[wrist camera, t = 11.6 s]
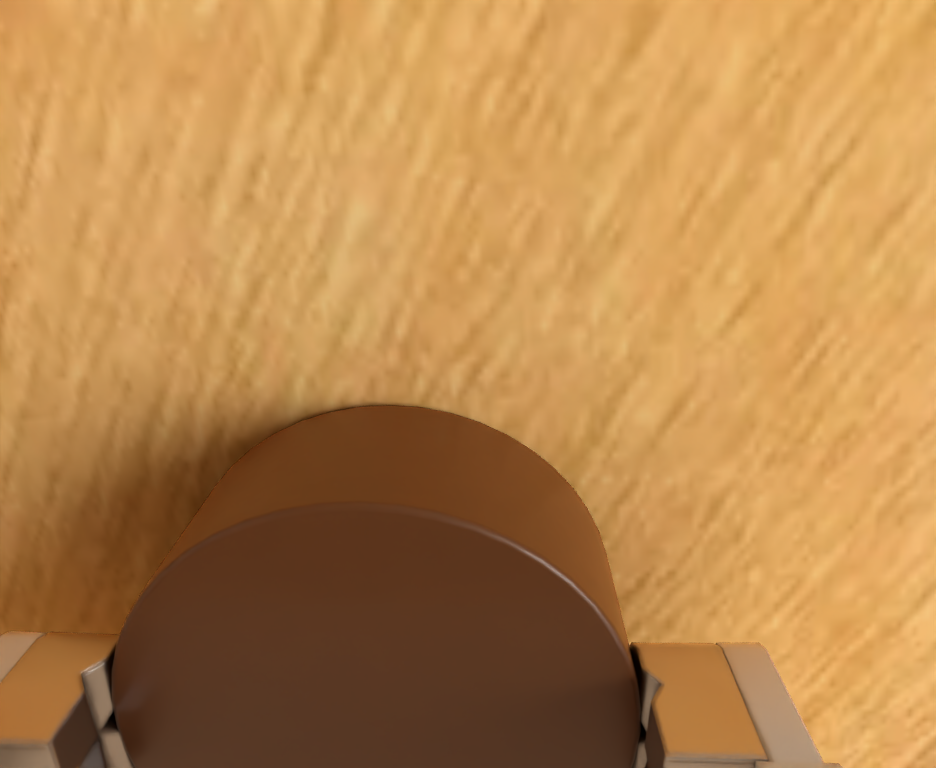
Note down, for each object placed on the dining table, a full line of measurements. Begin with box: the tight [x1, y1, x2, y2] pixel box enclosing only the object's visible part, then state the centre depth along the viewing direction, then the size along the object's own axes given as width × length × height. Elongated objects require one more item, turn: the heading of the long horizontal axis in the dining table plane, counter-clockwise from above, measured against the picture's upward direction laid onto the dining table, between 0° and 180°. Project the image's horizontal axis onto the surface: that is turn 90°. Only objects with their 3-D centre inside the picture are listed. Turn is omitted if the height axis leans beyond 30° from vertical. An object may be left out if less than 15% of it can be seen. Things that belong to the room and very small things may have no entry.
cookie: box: [112, 405, 641, 768], centre depth 9 cm, size 6×6×2 cm
